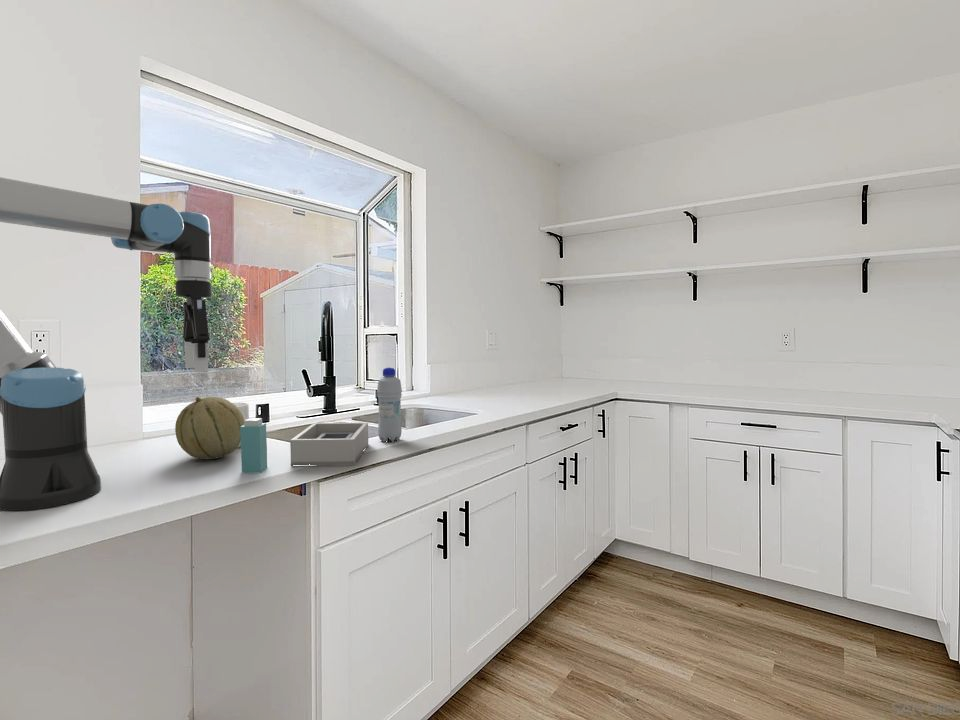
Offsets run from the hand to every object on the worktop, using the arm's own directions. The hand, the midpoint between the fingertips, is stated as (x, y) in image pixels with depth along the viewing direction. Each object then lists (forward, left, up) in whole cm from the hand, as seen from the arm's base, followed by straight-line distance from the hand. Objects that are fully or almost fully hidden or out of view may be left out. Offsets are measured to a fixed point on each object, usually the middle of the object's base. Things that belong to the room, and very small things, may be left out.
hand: (196, 370), depth 125 cm
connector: (-13, -18, -21) cm, 31 cm away
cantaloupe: (-2, -4, -21) cm, 21 cm away
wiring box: (-1, -32, -21) cm, 38 cm away
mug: (+10, -2, -21) cm, 23 cm away
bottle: (+15, -44, -21) cm, 51 cm away
